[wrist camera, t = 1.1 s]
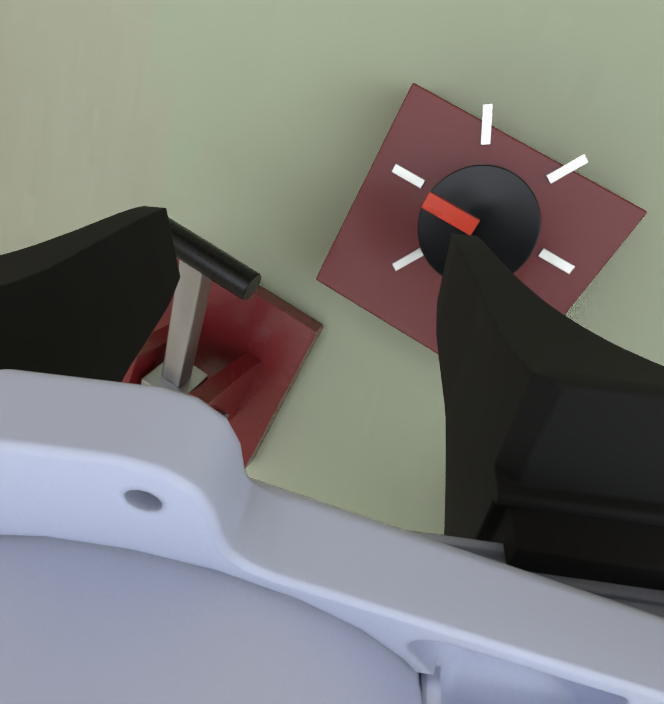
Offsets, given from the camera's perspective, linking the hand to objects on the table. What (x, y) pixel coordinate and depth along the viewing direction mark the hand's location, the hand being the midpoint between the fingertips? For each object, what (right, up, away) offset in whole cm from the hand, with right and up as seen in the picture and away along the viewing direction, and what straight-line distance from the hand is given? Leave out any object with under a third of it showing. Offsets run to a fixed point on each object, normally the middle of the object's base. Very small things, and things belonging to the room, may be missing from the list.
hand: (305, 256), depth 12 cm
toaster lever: (-6, -1, +11) cm, 12 cm away
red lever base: (-6, -3, +17) cm, 18 cm away
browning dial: (+7, +3, +7) cm, 10 cm away
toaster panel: (+7, +3, +10) cm, 12 cm away
